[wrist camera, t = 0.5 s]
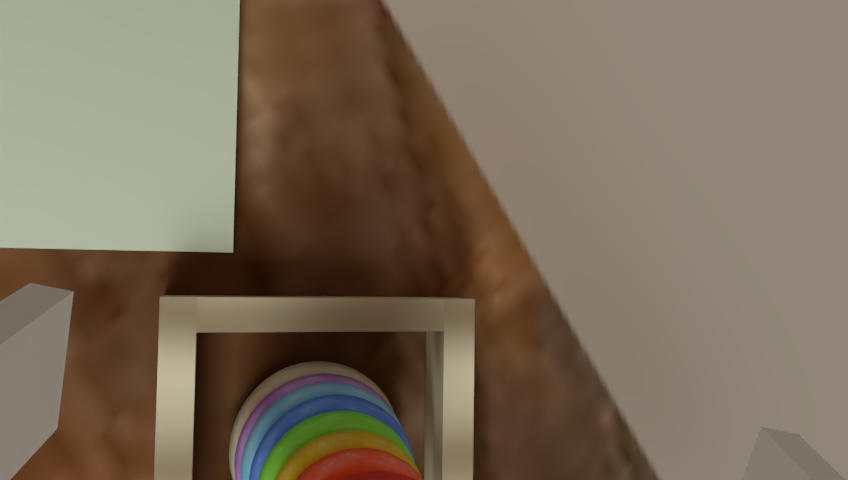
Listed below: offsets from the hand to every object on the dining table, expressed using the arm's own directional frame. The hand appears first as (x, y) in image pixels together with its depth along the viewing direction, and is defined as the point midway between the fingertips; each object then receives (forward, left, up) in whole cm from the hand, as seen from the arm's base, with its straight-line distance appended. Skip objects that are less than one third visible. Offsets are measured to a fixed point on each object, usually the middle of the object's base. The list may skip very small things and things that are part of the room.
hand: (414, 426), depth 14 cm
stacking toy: (+5, +1, -23) cm, 24 cm away
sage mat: (-10, -9, -23) cm, 26 cm away
